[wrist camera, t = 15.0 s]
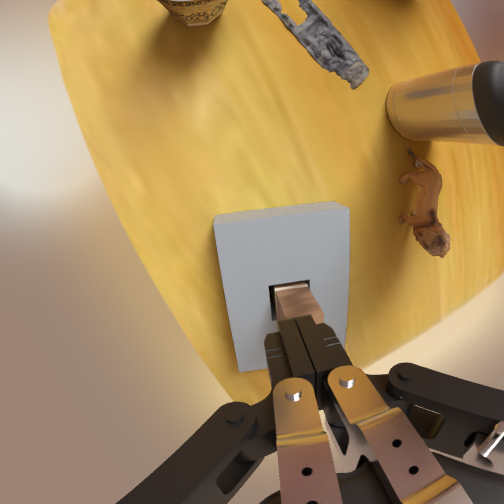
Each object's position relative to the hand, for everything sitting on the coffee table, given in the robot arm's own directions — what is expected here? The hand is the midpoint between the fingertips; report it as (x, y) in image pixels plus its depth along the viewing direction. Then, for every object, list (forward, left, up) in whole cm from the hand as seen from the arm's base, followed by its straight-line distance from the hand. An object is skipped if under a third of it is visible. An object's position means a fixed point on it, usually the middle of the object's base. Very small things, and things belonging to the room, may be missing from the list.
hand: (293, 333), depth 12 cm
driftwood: (-12, -26, -27) cm, 39 cm away
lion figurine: (-25, 0, -26) cm, 36 cm away
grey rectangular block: (-4, +11, -26) cm, 28 cm away
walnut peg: (-4, +11, -26) cm, 28 cm away
